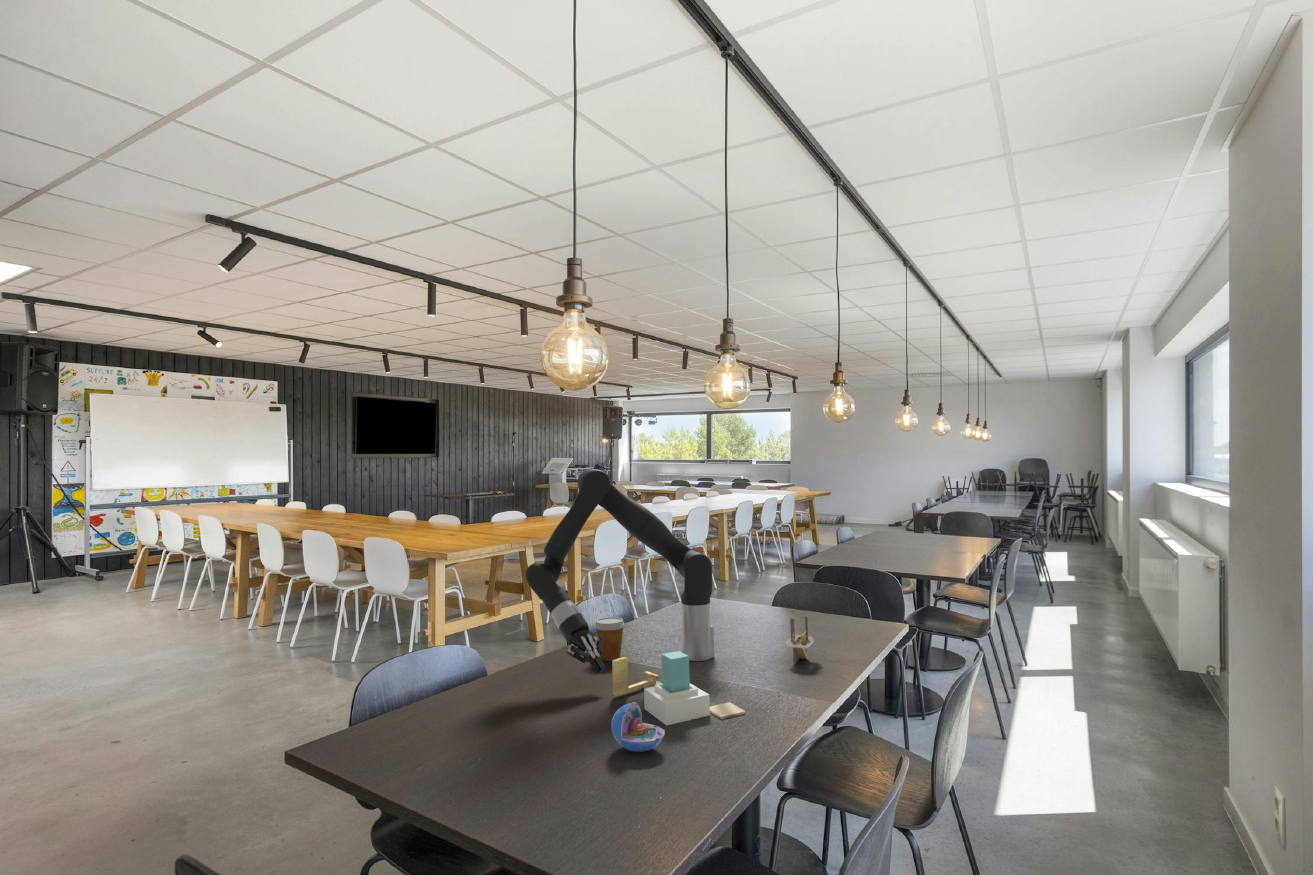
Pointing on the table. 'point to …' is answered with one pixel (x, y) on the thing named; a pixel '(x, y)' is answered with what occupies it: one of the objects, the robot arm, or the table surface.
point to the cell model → (634, 729)
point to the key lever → (622, 677)
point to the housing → (676, 704)
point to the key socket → (651, 685)
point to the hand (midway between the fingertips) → (601, 671)
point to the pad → (726, 710)
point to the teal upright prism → (675, 671)
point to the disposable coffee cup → (610, 636)
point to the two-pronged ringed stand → (794, 642)
